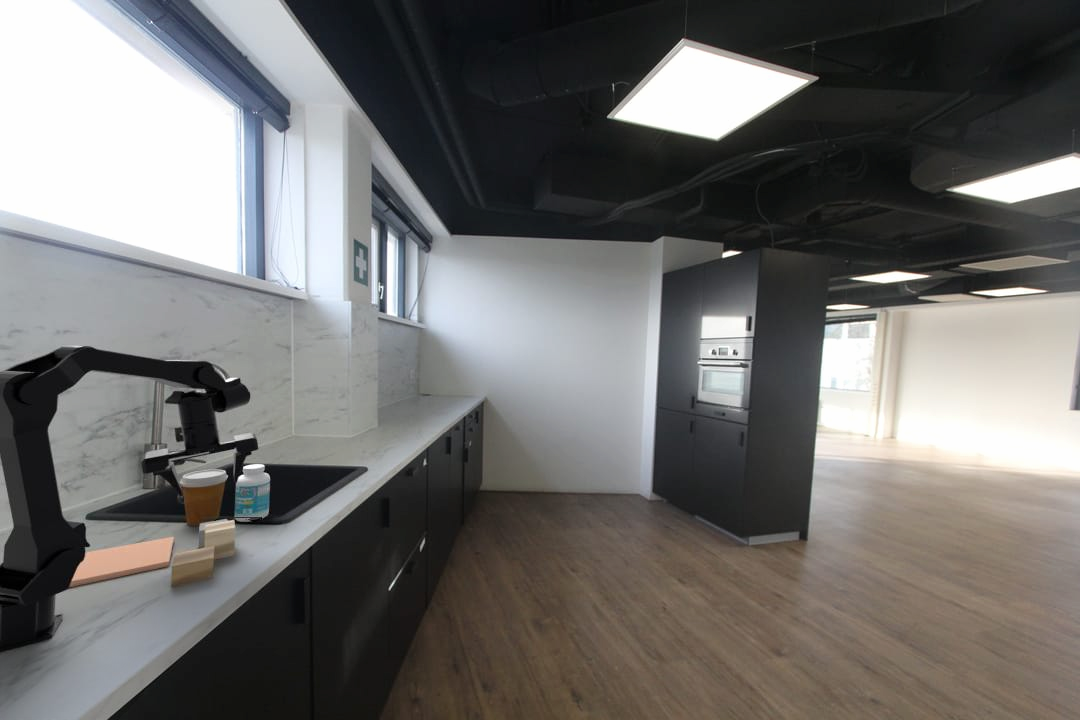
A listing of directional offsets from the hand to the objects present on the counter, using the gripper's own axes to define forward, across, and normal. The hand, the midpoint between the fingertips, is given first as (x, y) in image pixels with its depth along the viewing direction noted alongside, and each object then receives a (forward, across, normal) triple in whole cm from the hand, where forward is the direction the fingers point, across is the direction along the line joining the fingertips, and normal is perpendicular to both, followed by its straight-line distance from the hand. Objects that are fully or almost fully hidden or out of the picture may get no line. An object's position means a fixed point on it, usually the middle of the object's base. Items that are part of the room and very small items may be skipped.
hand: (209, 488), depth 89 cm
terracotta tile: (+12, +15, -2) cm, 19 cm away
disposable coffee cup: (+16, +3, -20) cm, 26 cm away
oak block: (+12, +4, +12) cm, 17 cm away
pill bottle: (+17, -7, -16) cm, 24 cm away
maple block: (+14, 0, +4) cm, 14 cm away
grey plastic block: (+14, +1, -4) cm, 15 cm away
